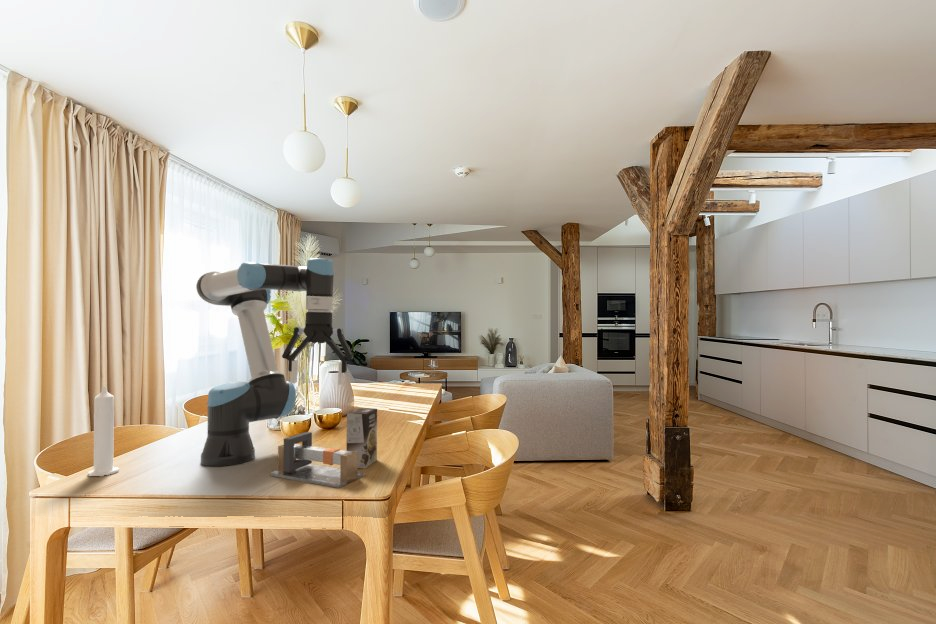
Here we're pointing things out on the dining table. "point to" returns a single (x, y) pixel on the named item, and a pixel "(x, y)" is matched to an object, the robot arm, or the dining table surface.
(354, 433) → the coffee box
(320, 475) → the rail
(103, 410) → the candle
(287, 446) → the grey square ring
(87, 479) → the dining table surface
